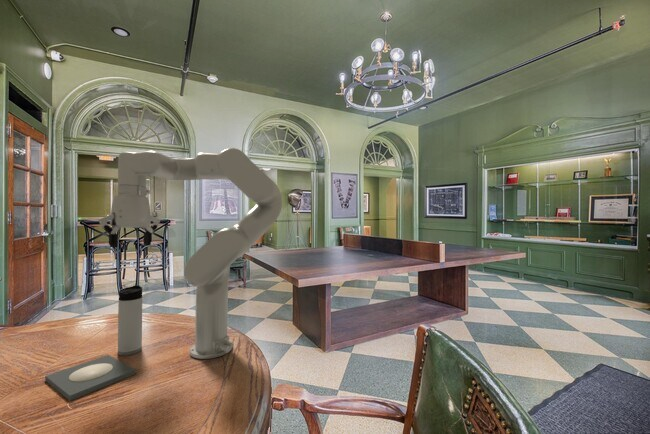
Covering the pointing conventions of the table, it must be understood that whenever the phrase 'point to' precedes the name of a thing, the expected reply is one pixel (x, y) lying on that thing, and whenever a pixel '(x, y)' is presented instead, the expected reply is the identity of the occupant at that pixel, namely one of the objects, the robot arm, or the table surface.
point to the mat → (89, 376)
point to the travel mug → (130, 320)
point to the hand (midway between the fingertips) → (131, 246)
